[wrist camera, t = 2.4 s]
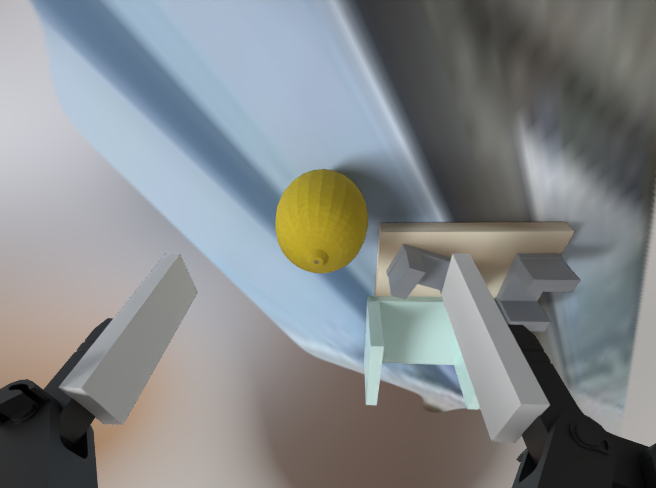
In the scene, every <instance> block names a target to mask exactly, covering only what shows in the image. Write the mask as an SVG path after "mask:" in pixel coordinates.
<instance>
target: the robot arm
mask: <svg viewBox="0 0 656 488" xmlns="http://www.w3.org/2000/svg"><path fill="white" fill-rule="evenodd" d="M196 295H197V289H196V287H195V285H194V283H193V281H192V279H191V277H190V274H189V272H188V270H187V268H186V266H185V263H184V261H183V259H182V257H181V255H180V254H165V255H164V256H163V257H162V258H161V260H160V261H159V262H158V264H157V265H156V266H155V267H154V268H153V270H152V271H151V273H149V275H148V276H147V277H146V279H145V280H144V281H143V282H142V283H141V285H140V286H139V287H138V289H137V290H136V291H135V292H134V293H133V295H132V296H131V297H130V298H129V300H128V301H127V302H126V303H125V305H124V306H123V307H122V308H121V310H120V311H119V312H118V314H117V315H116V316H115V317H114V318H113V319H111V318H108V319H106V320H105V321H104V322H102V323H101V324H100V325H99V326H97V327H96V328H95V329H94V330H93V331H92V332H91V333H90V335H89V336H88V337H87V338H86V340H85V342H84V343H82V344H81V345H80V347H79V348H78V349H77V352H75V353H74V354H73V355H72V356H71V357H70V359H69V360H68V361H67V362H66V363H65V365H64V366H63V367H62V368H61V369H60V371H59V372H58V373H57V374H56V375H55V376H54V378H53V379H52V380H51V381H50V382H49V384H48V385H47V386H46V387H45V388H44V389H42V388H40V387H39V386H38V385H36V384H35V383H34V382H32V381H30V380H28V379H27V380H19V381H16V382H13V383H10V384H8V385H7V386H5V387H3V388H2V389H0V488H98V483H97V471H96V457H95V445H94V432H93V429H92V427H91V426H90V424H91V423H92V421H93V420H94V418H95V417H96V418H97V419H98V420H99V421H100V422H102V423H103V424H112V425H114V424H115V425H123V424H124V423H125V421H126V419H127V417H128V416H129V414H130V412H131V410H132V408H133V407H134V405H135V403H136V401H137V400H138V398H139V396H140V394H141V392H142V391H143V389H144V387H145V385H146V384H147V382H148V380H149V378H150V376H151V375H152V373H153V371H154V369H155V368H156V366H157V364H158V362H159V360H160V359H161V357H162V355H163V353H164V352H165V350H166V348H167V346H168V344H169V343H170V341H171V339H172V337H173V336H174V334H175V332H176V330H177V329H178V327H179V325H180V323H181V321H182V320H183V318H184V316H185V314H186V313H187V311H188V309H189V307H190V305H191V304H192V302H193V300H194V298H195V297H196ZM441 296H442V299H443V302H444V305H445V308H446V310H447V313H448V316H449V319H450V322H451V325H452V328H453V331H454V334H455V337H456V339H457V342H458V345H459V348H460V351H461V354H462V357H463V360H464V363H465V366H466V368H467V371H468V374H469V377H470V380H471V383H472V386H473V389H474V392H475V395H476V397H477V400H478V403H479V406H480V409H481V412H482V415H483V418H484V420H485V423H486V426H487V429H488V432H489V435H490V438H491V441H492V442H511V443H516V442H517V440H518V439H519V438H520V437H521V436H522V437H523V439H524V442H525V444H526V446H527V448H526V449H525V450H524V451H523V452H522V453H521V454H520V456H519V457H518V458H517V460H518V461H519V462H521V463H520V466H519V469H518V472H517V475H516V478H515V480H514V483H513V486H512V488H656V444H654V445H652V446H650V447H648V446H644V445H642V444H639V443H636V442H633V441H630V440H627V439H624V438H621V437H618V436H616V435H613V434H611V433H609V432H606V431H605V430H604V429H603V428H602V426H601V425H599V424H598V423H597V422H595V421H594V420H593V419H591V418H590V417H588V416H586V415H584V414H583V413H582V411H581V410H580V409H579V407H578V406H577V404H576V403H575V401H574V399H573V398H572V396H571V394H570V393H569V391H568V389H567V388H566V386H565V384H564V383H563V381H562V379H561V378H560V376H559V374H558V373H557V371H556V369H555V368H554V366H553V364H551V363H550V359H549V358H548V356H547V355H546V353H544V350H543V348H542V346H541V345H540V343H539V341H538V340H537V338H536V336H535V335H534V334H532V333H531V332H530V331H529V330H528V329H527V328H526V327H525V326H524V325H513V324H507V323H506V321H505V319H504V317H503V315H502V314H501V312H500V310H499V308H498V306H497V304H496V302H495V300H494V299H493V297H492V295H491V293H490V291H489V289H488V287H487V285H486V283H485V282H484V280H483V278H482V276H481V274H480V272H479V270H478V268H477V267H476V265H475V263H474V261H473V259H472V257H471V255H470V254H452V257H451V261H450V264H449V268H448V272H447V275H446V279H445V282H444V286H443V290H442V293H441Z"/></svg>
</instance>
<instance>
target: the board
mask: <svg viewBox="0 0 656 488" xmlns="http://www.w3.org/2000/svg"><path fill="white" fill-rule="evenodd" d="M574 232H575V231H574V230H573V229H572V228H571V227H570V226H569V225H568V224H567V223H566V222H472V223H380V227H379V240H378V253H377V266H376V279H375V292H374V296H391V292H390V285H389V279H388V276H387V272H386V270H387V268H388V267H389V265H390V264H391V262H392V260H393V259H394V257H395V255H396V254H397V252H398V250H399V249H400V247H401V246H402V244H406V245H410V246H413V247H417V248H420V249H423V250H427V251H430V252H434V253H437V254H440V255H444V256H447V257H452V254H470V255H471V257H472V259H473V261H474V263H475V265H476V267H477V268H478V270H479V272H480V274H481V276H482V278H483V280H484V282H485V283H486V285H487V287H488V289H489V291H490V293H491V295H492V297H493V299H494V300H495V298H496V296H497V294H498V292H499V290H500V288H501V285H502V283H503V281H504V279H505V277H506V275H507V272H508V270H509V268H510V266H511V264H512V262H513V260H514V257H515V255H516V253H559V254H560V255H561V254H562V252H563V251H564V249H565V247H566V246H567V244H568V242H569V241H570V239H571V237H572V236H573V234H574ZM409 296H412V297H442V296H441V293H440V290H438V289H434V288H430V287H427V286H423V285H419V284H417V285H416V286H415V288H414V289H413V290H412V292H411V293H410V295H409Z"/></svg>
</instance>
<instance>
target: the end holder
mask: <svg viewBox="0 0 656 488" xmlns="http://www.w3.org/2000/svg"><path fill="white" fill-rule="evenodd" d="M382 363H410V364H444V365H454V366H455V370H456V373H457V376H458V379H459V383H460V386H461V389H462V393H463V396H464V399H465V403H466V406H467V409H479V408H480V406H479V403H478V400H477V397H476V395H475V392H474V389H473V386H472V383H471V380H470V377H469V374H468V371H467V368H466V366H465V363H464V360H463V357H462V354H461V351H460V348H459V345H458V342H457V339H456V337H455V334H454V331H453V328H452V325H451V322H450V319H449V316H448V313H447V310H446V308H445V305H444V302H443V299H442V297H412V296H408V297H407V299H406V300H405V299H402V298H398V297H394V296H367V313H366V331H365V349H364V367H365V390H366V405H377V397H378V390H379V382H380V374H381V366H382Z"/></svg>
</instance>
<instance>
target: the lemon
mask: <svg viewBox="0 0 656 488" xmlns="http://www.w3.org/2000/svg"><path fill="white" fill-rule="evenodd" d="M275 226H276V234H277V239H278V243H279V246H280V248H281V249H282V251H283V253H284V255H285V256H286V257H287V258H288V259H289V260H290V261H291V262H292V263H293V264H295V265H296V266H297V267H299V268H301V269H303V270H306V271H309V272H313V273H328V272H333V271H335V270H338V269H341V268H342V267H344V266H346V265H347V264H349V263H350V262H351V261H352V260H353V259H354V258H355V257H356V255H357V254H358V252H359V250H360V249H361V247H362V245H363V243H364V240H365V236H366V231H367V226H368V214H367V206H366V202H365V200H364V198H363V195H362V193H361V191H360V190H359V189H358V187H357V186H356V185H355V183H354V182H353V181H352V180H350V179H349V178H348V177H346V176H345V175H343V174H341V173H338V172H336V171H332V170H326V169H321V170H313V171H310V172H307V173H304V174H303V175H301V176H300V177H298V178H297V179H295V180H294V181H293V182H292V183H291V184H290V185H289V186H288V188H287V189H286V190H285V191H284V193H283V195H282V197H281V200H280V202H279V204H278V207H277V213H276V223H275Z"/></svg>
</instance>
